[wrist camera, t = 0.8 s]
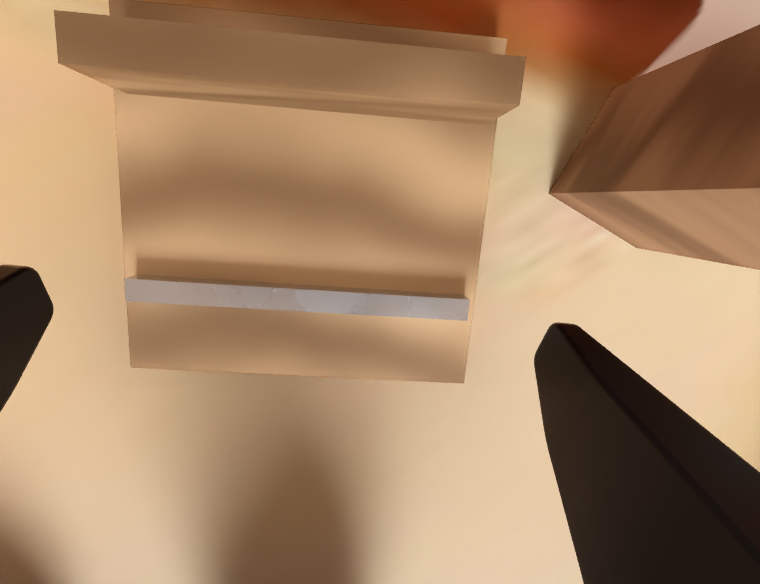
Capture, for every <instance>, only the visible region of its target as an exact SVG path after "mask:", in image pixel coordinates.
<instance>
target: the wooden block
mask: <svg viewBox="0 0 760 584" xmlns="http://www.w3.org/2000/svg"><path fill="white" fill-rule="evenodd" d="M549 194H550V195H552V196H554V197H555V198H557V199H558V200H560V201H562V202H563V203H565V204H567V205H568V206H570V207H571V208H573V209H575V210H576V211H578V212H579V213H581V214H583V215H584V216H586V217H588V218H589V219H591V220H592V221H594V222H596V223H597V224H599V225H601V226H602V227H604V228H605V229H607V230H609V231H610V232H612V233H613V234H615V235H617V236H618V237H620V238H622V239H623V240H625V241H626V242H628V243H630V244H631V245H633V246H634V247H636V248H641V249H646V250H652V251H657V252H663V253H669V254H674V255H680V256H685V257H691V258H697V259H702V260H708V261H713V262H719V263H725V264H730V265H736V266H741V267H747V268H753V269H758V270H760V25H758V26H756V27H753V28H751V29H749V30H746V31H744V32H742V33H740V34H737V35H735V36H733V37H730V38H728V39H726V40H723V41H721V42H719V43H716V44H714V45H712V46H709V47H707V48H705V49H702V50H700V51H698V52H695V53H693V54H691V55H689V56H686V57H684V58H682V59H679V60H677V61H675V62H672V63H670V64H668V65H665V66H663V67H661V68H659V69H656V70H654V71H652V72H649V73H647V74H645V75H642V76H640V77H638V78H635V79H633V80H631V81H628V82H626V83H624V84H622V85H619V86H617V87H615V88H614V89H613V90H612V92H611V94H610V95H609V97H608V98H607V100H606V102H605V103H604V105H603V107H602V108H601V110H600V111H599V113H598V115H597V116H596V118H595V119H594V121H593V123H592V124H591V126H590V128H589V129H588V131H587V132H586V134H585V136H584V137H583V139H582V140H581V142H580V144H579V145H578V147H577V149H576V150H575V152H574V153H573V155H572V157H571V158H570V160H569V161H568V163H567V165H566V166H565V168H564V170H563V171H562V173H561V174H560V176H559V178H558V179H557V181H556V182H555V184H554V186H553V187H552V189H551V191H550V192H549Z"/></svg>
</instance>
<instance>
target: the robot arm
mask: <svg viewBox="0 0 760 584" xmlns="http://www.w3.org/2000/svg"><path fill="white" fill-rule="evenodd" d="M52 315H53V304H52V301H51V299H50V297H49V295H48V293H47V290H46V288H45V286H44V284H43V282H42V280H41V278H40V276H39V274H38V272H37V271H35V270H34V269H33V268H30V267H27V266H17V265H0V412H1V410H2V409H3V407H4V405H5V404H6V402H7V401H8V399H9V397H10V396H11V394H12V392H13V391H14V389H15V387H16V385H17V383H18V382H19V380H20V378H21V376H22V374H23V372H24V370H25V368H26V366H27V364H28V363H29V361H30V359H31V357H32V355H33V353H34V351H35V349H36V347H37V345H38V343H39V341H40V340H41V338H42V336H43V334H44V332H45V330H46V328H47V326H48V324H49V322H50V320H51V318H52ZM534 366H535V373H536V379H537V386H538V393H539V399H540V406H541V413H542V419H543V426H544V432H545V437H546V442H547V446H548V450H549V454H550V458H551V462H552V465H553V469H554V473H555V477H556V481H557V484H558V488H559V492H560V496H561V499H562V503H563V507H564V511H565V514H566V518H567V522H568V526H569V529H570V533H571V537H572V541H573V544H574V548H575V552H576V556H577V559H578V563H579V567H580V571H581V574H582V578H583V582H584V584H760V472H759V471H757V470H756V469H755V468H754V467H752V466H751V465H750V464H749V463H747V462H746V461H745V460H744V459H742V458H741V457H740V456H739V455H738V454H736V453H735V452H734V451H733V450H731V449H730V448H729V447H728V446H726V445H725V444H724V443H723V442H721V441H720V440H719V439H718V438H716V437H715V436H714V435H713V434H711V433H710V432H709V431H708V430H707V429H705V428H704V427H703V426H702V425H700V424H699V423H698V422H697V421H695V420H694V419H693V418H692V417H690V416H689V415H688V414H687V413H685V412H684V411H683V410H682V409H681V408H679V407H678V406H677V405H676V404H674V403H673V402H672V401H671V400H669V399H668V398H667V397H666V396H664V395H663V394H662V393H661V392H659V391H658V390H657V389H656V388H654V387H653V386H652V385H651V384H650V383H648V382H647V381H646V380H645V379H643V378H642V377H641V376H640V375H638V374H637V373H636V372H635V371H633V370H632V369H631V368H630V367H628V366H627V365H626V364H625V363H623V362H622V361H621V360H620V359H619V358H617V357H616V356H615V355H614V354H612V353H611V352H610V351H609V350H607V349H606V348H605V347H604V346H602V345H601V344H600V343H599V342H597V341H596V340H595V339H594V338H592V337H591V336H590V335H589V334H588V333H586V332H585V331H584V330H583V329H581V328H580V327H579V326H577V325H575V324H567V323H553V324H552V325H551V326H550V327H549V329H548V330H547V332H546V334H545V336H544V338H543V340H542V342H541V344H540V345H539V347H538V349H537V351H536V354H535V358H534Z"/></svg>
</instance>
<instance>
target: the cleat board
mask: <svg viewBox="0 0 760 584" xmlns="http://www.w3.org/2000/svg"><path fill="white" fill-rule="evenodd" d="M109 12H110V16H107V15H97V14H87V13H77V12H67V11H57V10H54V16H55V28H56V40H57V52H58V63H59V64H62V65H64V66H66V67H68V68H70V69H73V70H75V71H77V72H79V73H82V74H84V75H86V76H88V77H91V78H93V79H95V80H97V81H100V82H102V83H104V84H106V85H108V86H111V87H113V88H114V96H115V113H116V129H117V146H118V163H119V180H120V197H121V213H122V230H123V247H124V264H125V279H124V280H125V297H126V301H127V314H128V331H129V348H130V365H131V367H133V368H154V369H175V370H196V371H217V372H237V373H258V374H279V375H300V376H321V377H341V378H362V379H383V380H404V381H424V382H445V383H464V378H465V370H466V362H467V354H468V346H469V338H470V330H471V323H472V315H473V307H474V299H475V291H476V283H477V275H478V267H479V259H480V251H481V243H482V235H483V227H484V219H485V211H486V203H487V195H488V187H489V179H490V172H491V164H492V156H493V148H494V140H495V132H496V124H497V118H498V117H500V116H502V115H503V114H505V113H507V112H509V111H510V110H512V109H514V108H515V107H517V106H519V104H520V97H521V90H522V82H523V75H524V67H525V60H526V57H522V56H512V55H505V52H506V44H507V38H498V37H488V36H479V35H469V34H459V33H449V32H439V31H429V30H419V29H410V28H400V27H390V26H380V25H370V24H360V23H351V22H341V21H331V20H321V19H311V18H301V17H291V16H281V15H272V14H262V13H252V12H242V11H232V10H222V9H213V8H203V7H193V6H183V5H173V4H163V3H153V2H144V1H134V0H109Z"/></svg>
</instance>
